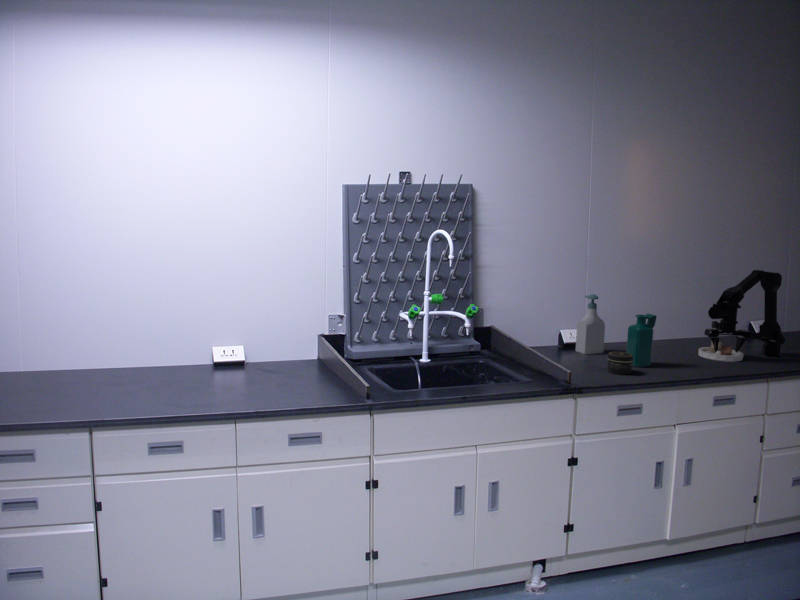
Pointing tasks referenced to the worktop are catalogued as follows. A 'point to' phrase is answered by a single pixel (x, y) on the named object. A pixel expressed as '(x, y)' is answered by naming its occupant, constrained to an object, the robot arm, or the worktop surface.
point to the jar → (619, 363)
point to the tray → (717, 356)
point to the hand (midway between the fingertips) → (726, 352)
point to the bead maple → (713, 347)
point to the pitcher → (641, 340)
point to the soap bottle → (590, 331)
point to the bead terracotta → (726, 350)
